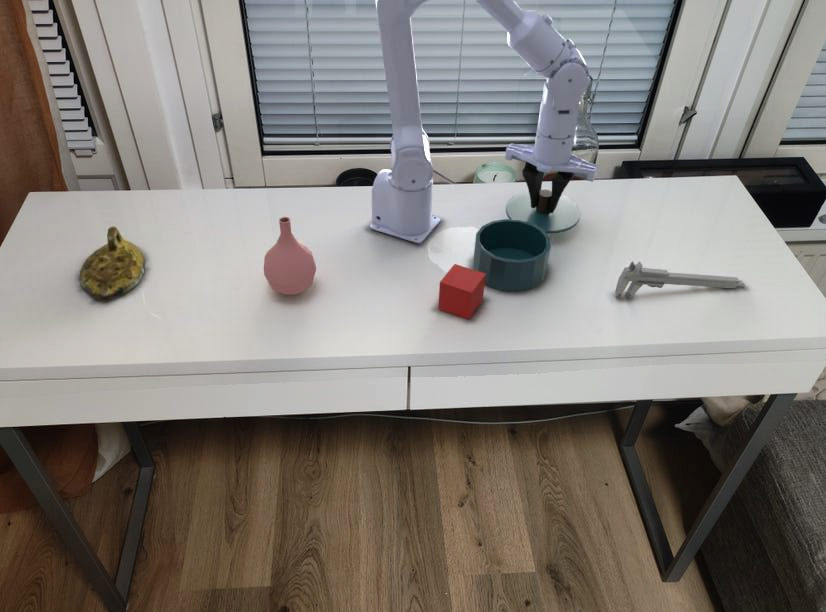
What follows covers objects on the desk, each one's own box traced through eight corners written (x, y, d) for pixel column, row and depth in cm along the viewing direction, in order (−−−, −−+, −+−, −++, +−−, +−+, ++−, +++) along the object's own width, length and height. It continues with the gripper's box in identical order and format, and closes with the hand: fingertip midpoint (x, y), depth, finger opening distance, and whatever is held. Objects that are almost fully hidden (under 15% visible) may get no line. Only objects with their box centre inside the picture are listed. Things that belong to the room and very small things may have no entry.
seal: (142, 305, 112) (148, 246, 123) (138, 280, 109) (145, 221, 119) (74, 306, 110) (87, 245, 121) (69, 280, 107) (82, 220, 118)
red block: (438, 309, 111) (439, 282, 107) (452, 290, 114) (454, 263, 110) (469, 319, 109) (471, 292, 106) (483, 300, 112) (486, 273, 109)
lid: (493, 224, 124) (496, 201, 121) (521, 189, 132) (524, 167, 129) (565, 244, 120) (569, 221, 117) (589, 207, 127) (593, 185, 125)
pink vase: (264, 274, 116) (255, 207, 108) (314, 269, 117) (308, 202, 109) (268, 306, 111) (258, 238, 102) (320, 300, 112) (314, 232, 103)
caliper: (616, 300, 113) (625, 266, 108) (613, 295, 113) (622, 261, 109) (744, 288, 115) (758, 254, 111) (741, 283, 116) (754, 250, 112)
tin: (461, 278, 116) (463, 248, 112) (489, 240, 123) (493, 212, 119) (530, 300, 112) (535, 270, 109) (555, 260, 120) (560, 231, 116)
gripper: (501, 130, 115) (493, 207, 124) (594, 153, 110) (578, 231, 120) (518, 111, 119) (509, 187, 129) (608, 132, 115) (591, 210, 124)
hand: (543, 207), depth 124 cm, fingers closed on lid, 2 cm apart
